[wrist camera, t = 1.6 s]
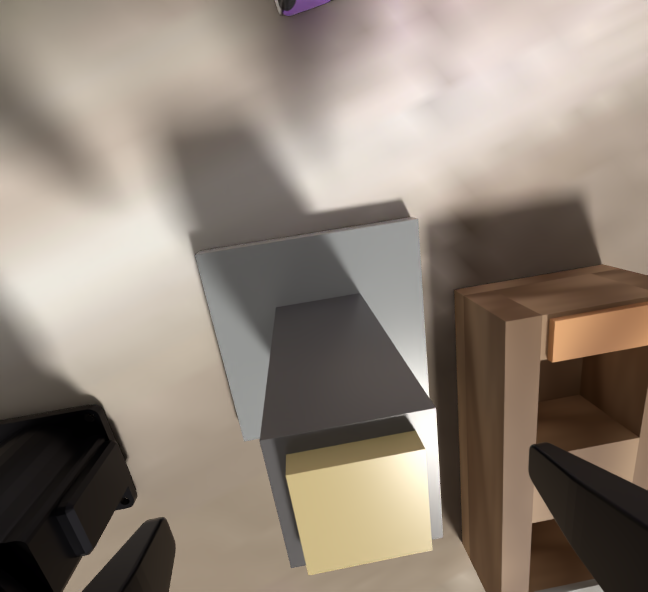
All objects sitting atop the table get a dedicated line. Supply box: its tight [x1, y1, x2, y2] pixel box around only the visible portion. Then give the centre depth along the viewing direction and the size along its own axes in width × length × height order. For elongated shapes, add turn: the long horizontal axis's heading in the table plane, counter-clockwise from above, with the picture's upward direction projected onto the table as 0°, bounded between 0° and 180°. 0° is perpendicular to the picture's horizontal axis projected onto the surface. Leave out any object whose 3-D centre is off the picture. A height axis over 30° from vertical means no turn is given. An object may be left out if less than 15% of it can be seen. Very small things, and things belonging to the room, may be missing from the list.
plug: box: [260, 293, 443, 575], centre depth 12 cm, size 4×4×10 cm
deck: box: [195, 217, 429, 441], centre depth 17 cm, size 10×10×1 cm
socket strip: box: [454, 264, 648, 592], centre depth 19 cm, size 8×18×5 cm, turn 9°
